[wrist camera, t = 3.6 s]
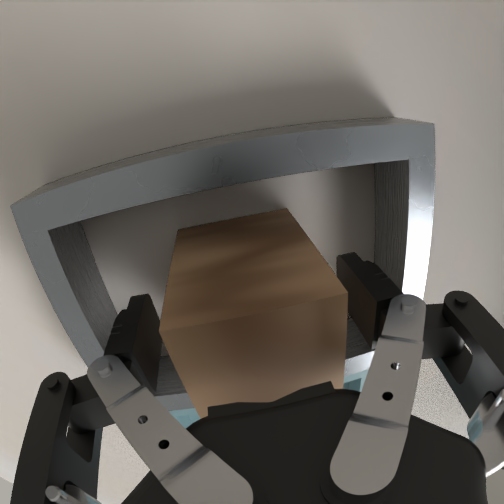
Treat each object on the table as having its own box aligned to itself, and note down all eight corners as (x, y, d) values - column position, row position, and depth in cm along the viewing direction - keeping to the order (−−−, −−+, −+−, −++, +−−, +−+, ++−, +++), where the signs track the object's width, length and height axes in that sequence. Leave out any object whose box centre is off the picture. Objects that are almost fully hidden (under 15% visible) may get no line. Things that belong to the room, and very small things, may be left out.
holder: (395, 117, 13) (434, 123, 10) (388, 323, 18) (410, 354, 16) (43, 185, 12) (10, 205, 9) (128, 377, 17) (121, 414, 15)
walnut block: (286, 208, 14) (347, 292, 8) (296, 297, 16) (341, 401, 10) (177, 229, 14) (158, 331, 8) (203, 316, 16) (206, 430, 10)
